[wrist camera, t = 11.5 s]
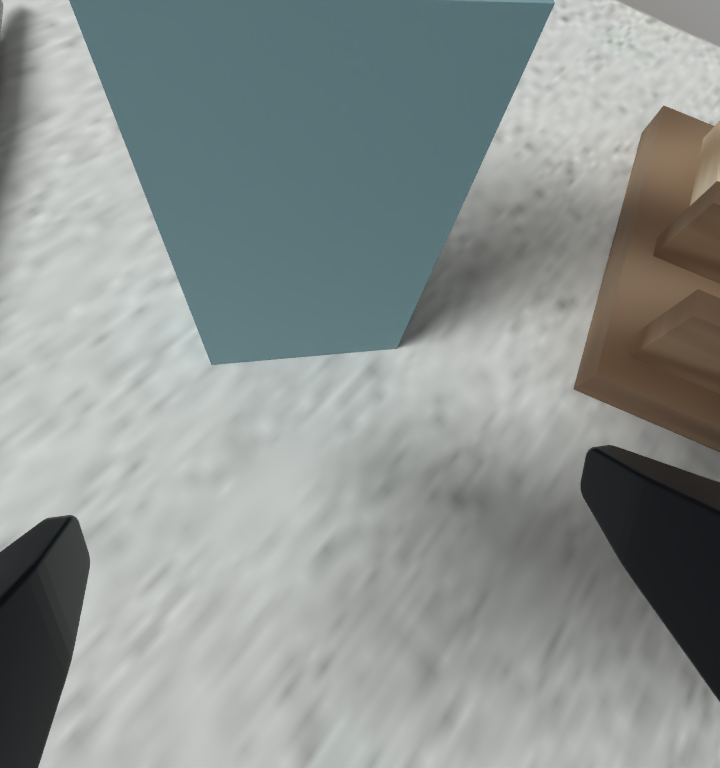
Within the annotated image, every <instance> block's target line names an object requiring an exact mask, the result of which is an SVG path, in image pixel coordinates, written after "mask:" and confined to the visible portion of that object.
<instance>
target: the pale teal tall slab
mask: <svg viewBox="0 0 720 768" xmlns="http://www.w3.org/2000/svg"><path fill="white" fill-rule="evenodd" d="M69 1H70V3H71V6H72V8H73V11H74V13H75V16H76V19H77V21H78V24H79V26H80V29H81V31H82V34H83V37H84V39H85V42H86V44H87V47H88V49H89V52H90V55H91V57H92V60H93V62H94V65H95V67H96V70H97V72H98V75H99V78H100V80H101V83H102V85H103V88H104V90H105V93H106V96H107V98H108V101H109V103H110V106H111V108H112V111H113V113H114V116H115V119H116V121H117V124H118V126H119V129H120V131H121V134H122V137H123V139H124V142H125V144H126V147H127V149H128V152H129V154H130V157H131V160H132V162H133V165H134V167H135V170H136V172H137V175H138V178H139V180H140V183H141V185H142V188H143V190H144V193H145V196H146V198H147V201H148V203H149V206H150V208H151V211H152V213H153V216H154V219H155V221H156V224H157V226H158V229H159V231H160V234H161V237H162V239H163V242H164V244H165V247H166V249H167V252H168V254H169V257H170V260H171V262H172V265H173V267H174V270H175V272H176V275H177V278H178V280H179V283H180V285H181V288H182V290H183V293H184V295H185V298H186V301H187V303H188V306H189V308H190V311H191V313H192V316H193V319H194V321H195V324H196V326H197V329H198V331H199V334H200V336H201V339H202V342H203V344H204V347H205V349H206V352H207V354H208V357H209V360H210V362H211V365H214V364H225V363H237V362H248V361H260V360H271V359H282V358H294V357H305V356H317V355H328V354H340V353H351V352H362V351H374V350H385V349H397V347H398V345H399V343H400V340H401V338H402V336H403V334H404V332H405V330H406V327H407V325H408V323H409V321H410V319H411V316H412V314H413V312H414V310H415V308H416V305H417V303H418V301H419V299H420V297H421V295H422V292H423V290H424V288H425V286H426V284H427V281H428V279H429V277H430V275H431V273H432V270H433V268H434V266H435V264H436V262H437V260H438V257H439V255H440V253H441V251H442V249H443V246H444V244H445V242H446V240H447V238H448V235H449V233H450V231H451V229H452V227H453V225H454V222H455V220H456V218H457V216H458V214H459V211H460V209H461V207H462V205H463V203H464V201H465V198H466V196H467V194H468V192H469V190H470V187H471V185H472V183H473V181H474V179H475V176H476V174H477V172H478V170H479V168H480V166H481V163H482V161H483V159H484V157H485V155H486V152H487V150H488V148H489V146H490V144H491V141H492V139H493V137H494V135H495V133H496V131H497V128H498V126H499V124H500V122H501V120H502V117H503V115H504V113H505V111H506V109H507V106H508V104H509V102H510V100H511V98H512V96H513V93H514V91H515V89H516V87H517V85H518V82H519V80H520V78H521V76H522V74H523V72H524V69H525V67H526V65H527V63H528V61H529V58H530V56H531V54H532V52H533V50H534V47H535V45H536V43H537V41H538V39H539V37H540V34H541V32H542V30H543V28H544V26H545V23H546V21H547V19H548V17H549V15H550V12H551V10H552V8H553V6H554V4H555V3H554V0H69Z"/></svg>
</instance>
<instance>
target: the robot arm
mask: <svg viewBox="0 0 720 768" xmlns="http://www.w3.org/2000/svg"><path fill="white" fill-rule="evenodd" d="M581 492H582V495H583V498H584V499H585V501H586V503H587V505H588V506H589V508H590V510H591V512H592V513H593V515H594V517H595V519H596V520H597V522H598V524H599V525H600V527H601V529H602V531H603V532H604V534H605V536H606V538H607V539H608V541H609V543H610V545H611V546H612V548H613V550H614V552H615V553H616V555H617V557H618V558H619V560H620V561H621V563H622V565H623V566H624V568H625V569H626V571H627V572H628V574H629V575H630V577H631V578H632V579H633V581H634V582H635V584H636V585H637V586H638V588H639V589H640V591H641V592H642V593H643V595H644V596H645V598H646V599H647V600H648V602H649V603H650V605H651V606H652V607H653V609H654V610H655V612H656V613H657V615H658V616H659V617H660V619H661V620H662V622H663V623H664V624H665V626H666V627H667V629H668V630H669V631H670V633H671V634H672V636H673V637H674V638H675V640H676V641H677V643H678V644H679V645H680V647H681V648H682V650H683V651H684V652H685V654H686V655H687V657H688V658H689V659H690V661H691V662H692V664H693V665H694V666H695V668H696V669H697V671H698V672H699V673H700V675H701V676H702V678H703V679H704V680H705V682H706V683H707V685H708V686H709V687H710V689H711V690H712V692H713V693H714V694H715V696H716V697H717V699H718V700H719V702H720V483H719V482H716V481H713V480H710V479H708V478H705V477H702V476H699V475H696V474H693V473H690V472H687V471H685V470H682V469H679V468H676V467H673V466H670V465H667V464H664V463H662V462H659V461H656V460H653V459H650V458H647V457H644V456H641V455H639V454H636V453H633V452H630V451H627V450H624V449H621V448H618V447H616V446H612V445H606V446H599V447H592V448H591V449H589V450H588V452H587V454H586V458H585V463H584V468H583V473H582V478H581ZM89 568H90V557H89V552H88V549H87V546H86V543H85V540H84V536H83V533H82V530H81V527H80V524H79V521H78V520H77V518H76V517H74V516H72V515H67V516H59V517H51V518H47V519H45V520H43V521H42V522H40V523H39V524H38V525H36V526H35V527H33V528H32V529H31V530H29V531H28V532H27V533H25V534H24V535H23V536H21V537H20V538H19V539H17V540H16V541H14V542H13V543H12V544H10V545H9V546H8V547H6V548H5V549H4V550H2V551H1V552H0V768H38V766H39V763H40V760H41V757H42V754H43V750H44V747H45V744H46V741H47V738H48V735H49V731H50V728H51V725H52V722H53V719H54V715H55V712H56V709H57V706H58V703H59V700H60V696H61V693H62V690H63V687H64V684H65V681H66V677H67V674H68V670H69V667H70V663H71V660H72V655H73V651H74V646H75V641H76V636H77V631H78V626H79V621H80V615H81V610H82V605H83V600H84V595H85V590H86V584H87V579H88V574H89Z"/></svg>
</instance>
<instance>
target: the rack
mask: <svg viewBox="0 0 720 768" xmlns="http://www.w3.org/2000/svg"><path fill="white" fill-rule="evenodd" d="M713 127H714V126H712V125H710V124H708V123H705V122H703V121H700V120H698V119H695V118H693V117H690V116H688V115H686V114H683V113H681V112H678V111H676V110H673V109H671V108H668V107H666V106H663V107H662V108H661V109H660V111H659V112H658V113H657V115H656V116H655V117H654V118H653V120H652V121H651V122H650V123H649V125H648V126H647V127H646V128H645V130H644V131H643V132H642V135H641V139H640V142H639V146H638V150H637V154H636V157H635V161H634V165H633V169H632V172H631V176H630V180H629V184H628V187H627V191H626V195H625V199H624V202H623V206H622V210H621V214H620V217H619V221H618V225H617V229H616V232H615V236H614V240H613V244H612V247H611V251H610V255H609V259H608V262H607V266H606V270H605V274H604V277H603V281H602V285H601V289H600V292H599V296H598V300H597V304H596V307H595V311H594V315H593V319H592V322H591V326H590V330H589V334H588V337H587V341H586V345H585V349H584V352H583V356H582V360H581V364H580V367H579V371H578V375H577V379H576V382H575V386H574V389H575V390H577V391H579V392H582V393H584V394H586V395H589V396H591V397H593V398H596V399H598V400H600V401H603V402H605V403H607V404H610V405H612V406H614V407H617V408H619V409H621V410H624V411H626V412H628V413H631V414H633V415H635V416H638V417H640V418H642V419H645V420H647V421H649V422H652V423H654V424H656V425H659V426H661V427H663V428H666V429H668V430H670V431H673V432H675V433H677V434H680V435H682V436H684V437H687V438H689V439H691V440H694V441H696V442H698V443H701V444H703V445H705V446H708V447H710V448H712V449H715V450H717V451H719V452H720V182H719V181H716V182H715V183H714V184H713V185H712V186H711V187H710V188H709V189H708V190H707V191H706V192H705V193H704V194H702V195H701V196H700V197H699V198H698V199H697V200H696V201H695V202H694V203H693V204H692V205H691V206H690V202H691V197H692V192H693V187H694V182H695V177H696V172H697V167H698V162H699V157H700V152H701V147H702V142H703V138H704V137H705V136H706V135H707V134H708V133H709V132H710V131H711V130H712V129H713Z"/></svg>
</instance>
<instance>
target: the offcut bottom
mask: <svg viewBox="0 0 720 768" xmlns="http://www.w3.org/2000/svg"><path fill="white" fill-rule="evenodd" d="M716 181H719V182H720V121H719V122H718V123H717V124H716V125H715V126H714V127H713V129H712V130H711V131H710V132H709V133H708V134H707V135H706V136H705V137H704V138H703V142H702V147H701V152H700V157H699V162H698V167H697V172H696V177H695V182H694V187H693V192H692V197H691V202H690V206H691V205H692V204H693V203H694V202H695V201H696V200H697V199H698V198H699V197H700V196H701V195H702V194H704V193H705V192H706V191H707V190H708V189H709V188H710V187H711V186H712V185H713V184H714V183H715V182H716Z"/></svg>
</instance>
